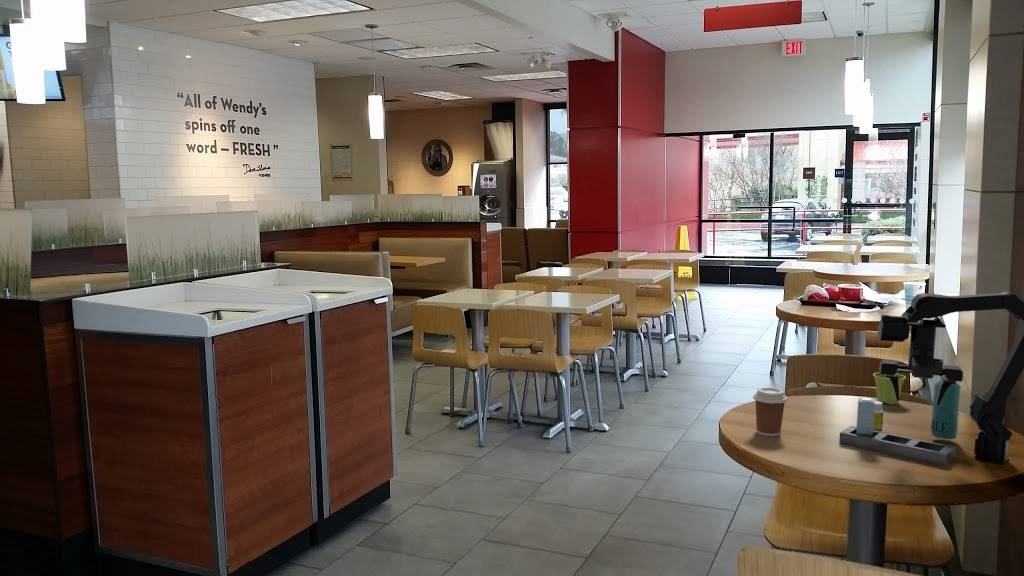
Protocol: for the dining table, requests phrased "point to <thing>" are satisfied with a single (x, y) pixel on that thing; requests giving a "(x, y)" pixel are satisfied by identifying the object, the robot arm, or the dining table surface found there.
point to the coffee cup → (769, 410)
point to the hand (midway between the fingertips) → (917, 403)
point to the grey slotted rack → (900, 446)
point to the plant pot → (887, 388)
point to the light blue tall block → (865, 417)
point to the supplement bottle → (878, 417)
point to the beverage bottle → (946, 412)
